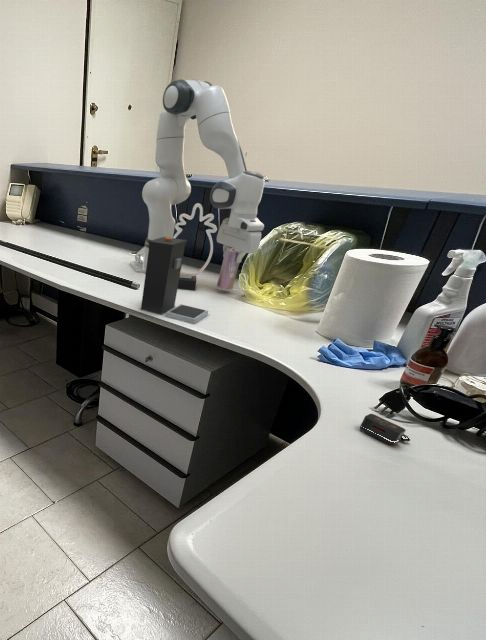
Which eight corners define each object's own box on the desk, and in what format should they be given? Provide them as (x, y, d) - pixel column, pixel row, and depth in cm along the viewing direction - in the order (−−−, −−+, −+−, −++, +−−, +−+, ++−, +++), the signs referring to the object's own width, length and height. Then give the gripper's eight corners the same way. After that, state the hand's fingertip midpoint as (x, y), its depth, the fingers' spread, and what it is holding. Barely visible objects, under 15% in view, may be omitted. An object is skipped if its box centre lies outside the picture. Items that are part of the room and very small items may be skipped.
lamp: (204, 285, 170) (221, 203, 154) (205, 291, 163) (223, 205, 147) (163, 281, 174) (176, 201, 158) (162, 287, 167) (175, 203, 151)
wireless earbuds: (396, 449, 77) (404, 436, 76) (357, 429, 83) (363, 416, 81) (409, 442, 79) (417, 429, 78) (370, 423, 85) (376, 410, 83)
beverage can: (229, 286, 164) (240, 248, 156) (234, 291, 159) (244, 251, 151) (214, 285, 164) (224, 247, 157) (218, 290, 159) (228, 251, 152)
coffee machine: (139, 309, 143) (148, 238, 131) (154, 301, 151) (164, 234, 139) (194, 323, 132) (209, 247, 120) (207, 314, 139) (223, 242, 127)
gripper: (217, 217, 157) (208, 253, 164) (252, 226, 140) (241, 267, 147) (231, 216, 158) (222, 253, 165) (267, 226, 141) (256, 266, 148)
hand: (231, 259), depth 156 cm, fingers closed on beverage can, 6 cm apart
